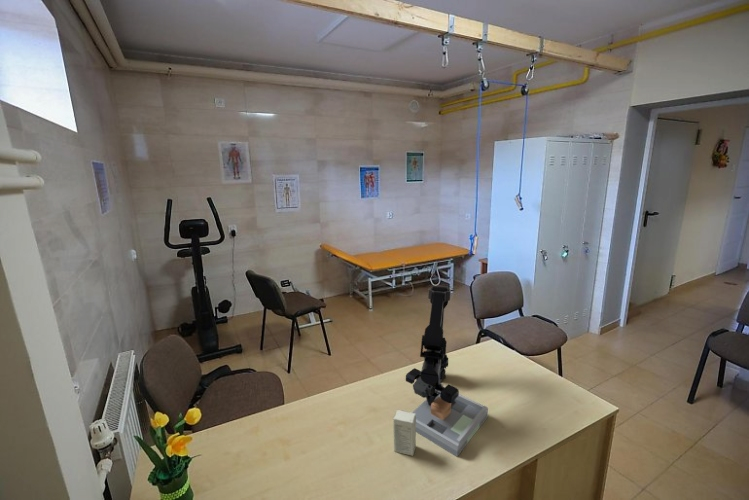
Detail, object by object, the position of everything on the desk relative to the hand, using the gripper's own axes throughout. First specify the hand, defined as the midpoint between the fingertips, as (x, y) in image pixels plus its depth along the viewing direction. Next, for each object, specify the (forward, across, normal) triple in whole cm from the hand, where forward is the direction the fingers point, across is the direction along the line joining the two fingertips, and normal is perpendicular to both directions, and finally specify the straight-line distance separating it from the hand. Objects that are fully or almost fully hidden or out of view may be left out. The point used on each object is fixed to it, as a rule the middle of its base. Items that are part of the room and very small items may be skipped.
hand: (430, 405), depth 123 cm
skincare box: (+3, +3, -19) cm, 19 cm away
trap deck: (+3, +7, 0) cm, 7 cm away
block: (+1, +4, 0) cm, 4 cm away
